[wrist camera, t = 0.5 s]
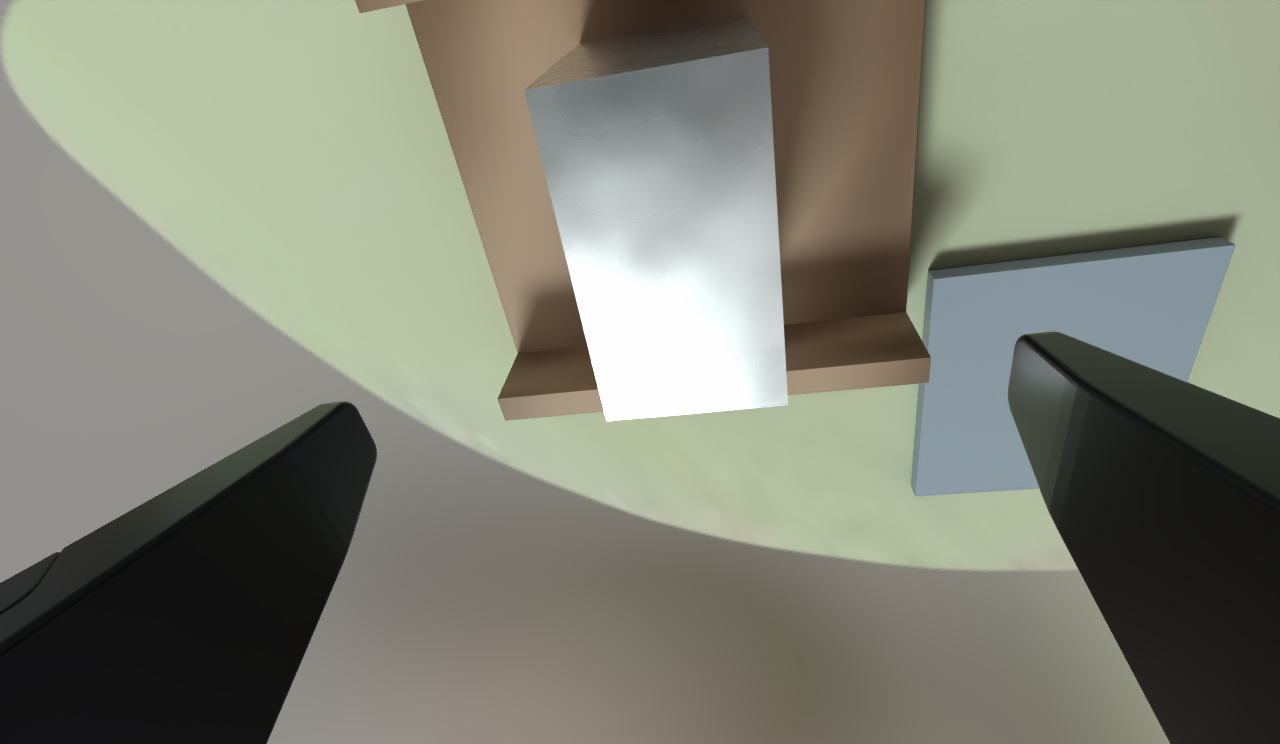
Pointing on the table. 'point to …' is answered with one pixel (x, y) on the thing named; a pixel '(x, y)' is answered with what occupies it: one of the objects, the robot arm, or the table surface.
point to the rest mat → (1043, 302)
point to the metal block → (669, 214)
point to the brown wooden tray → (804, 170)
